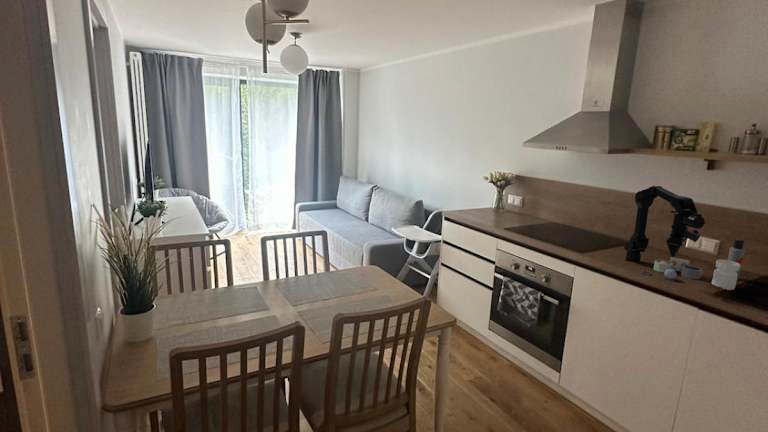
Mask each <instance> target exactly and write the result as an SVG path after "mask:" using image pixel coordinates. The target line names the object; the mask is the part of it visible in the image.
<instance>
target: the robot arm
mask: <svg viewBox="0 0 768 432" xmlns="http://www.w3.org/2000/svg"><path fill="white" fill-rule="evenodd" d="M634 196H635V197H634V202H635V205H636V206H637V211H636V218H635V226H634V232H633V234H632V235H631V237H630V238H629V240H628V242H627V243H626V244H625V245H623V247H624V251H626V257H625V259H624V261H626V262H630V263H634V264H635V263H636V264H639V263H641V262H642V259H643V258H642V256H643V253H645V251H646V249H647V248H648V246H649V241H650V239H649V237H647V235H646V232H647V231H646V230H647V222H648V215H649V209H650V207H651V206H652V205H653V203H654V200H655V199H657V198H659V199H660V198H661V199H662V200H664V201H666V202H668V203H669V204H670V206H671V207H672V208H673V209H672V210H670V213H672V214H673V219H672V224H671V226H670V228H671V230H670V233H669V237H667V238H666V241H665V243H666V245H667V247H668V251H669V253H670V258H671V257H673V258H676V257H675V256H676V254H678V253H679V250H680V248H681V247H682V246H683V245H684V243H685V242H686V241H687V239H689V240H690V241H692V242H694V243H697V242H698V240H699V239H700V237H701V234H700V231H699V229H702V228H703V227H704V225H705V223H706V222H705V218H704V217H703V215H702V213H698V210H697V208H696V207H697V206H696V205H695V203H694V200H693V198H691V197H689V196H688V197H687V196H683V195H678V194H675V193H674V192H672V191H669V190H668V189H665V188H664V187H663V186H661V185H652V186H650V187H648V188H645V189H642V190H638V191H637V192H635V195H634ZM689 227H690V228H693V229H694V230H690V229H689ZM697 229H698V230H697Z"/></svg>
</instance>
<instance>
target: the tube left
mask: <svg viewBox="0 0 768 432" xmlns="http://www.w3.org/2000/svg"><path fill="white" fill-rule="evenodd" d="M661 261H665V262H667V263H668V264H662V263H659V262H661ZM653 264H654V265H653V270H654V271H657V272H659V273H663V274H664V272H665V271H666V270H667V269H672V266H673V263H672V262H670V260H665V259H655V260H654V262H653Z"/></svg>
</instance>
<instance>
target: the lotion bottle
mask: <svg viewBox="0 0 768 432" xmlns="http://www.w3.org/2000/svg"><path fill="white" fill-rule="evenodd" d="M733 240H734V241H733V246H732V247H730V248H729V253H728V256H727V260H729V261H733V262H737V263H739V264H740V268H739V270H738V271H736V273H737V274H738V276H737V280H739V279H740V274H741V270H742V267H743V261H744V256H745V254H746V253H745V252H746V250H745V249H744V247H745V240H744V239H739V238H738V239H733Z"/></svg>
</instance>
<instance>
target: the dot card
mask: <svg viewBox="0 0 768 432" xmlns="http://www.w3.org/2000/svg"><path fill="white" fill-rule="evenodd" d="M669 261H670V262H672V263H673V266H672V269H673V270H675V271H676V272H679V273H681V272H682V267H683V265H690V260H687V259H684V258H683V259H682V258H676V257H671V256H670V259H669Z"/></svg>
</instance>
